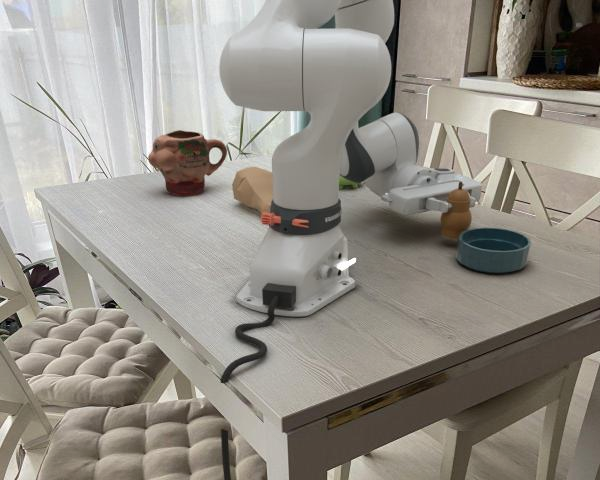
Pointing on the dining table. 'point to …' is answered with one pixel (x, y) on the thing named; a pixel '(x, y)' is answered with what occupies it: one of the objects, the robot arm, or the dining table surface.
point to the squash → (254, 188)
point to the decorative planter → (185, 160)
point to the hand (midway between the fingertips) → (461, 205)
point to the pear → (457, 214)
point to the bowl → (493, 250)
